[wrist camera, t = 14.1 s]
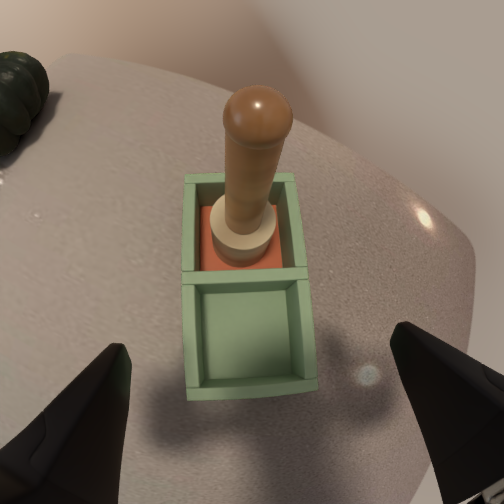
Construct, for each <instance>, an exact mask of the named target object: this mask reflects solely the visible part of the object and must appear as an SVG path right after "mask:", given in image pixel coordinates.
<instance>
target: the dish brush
mask: <svg viewBox="0 0 504 504" xmlns="http://www.w3.org/2000/svg"><path fill="white" fill-rule="evenodd" d="M292 123H293V114H292V109H291V107H290V104H289V102H288V101H287V99H286V98H285V97H284V96H283V95H282V94H281V93H280V92H278V91H277V90H275V89H273V88H271V87H268V86H263V85H252V86H248V87H245V88H242V89H240V90H239V91H237V92H236V93H234V94H233V95H232V96H231V97H230V99H229V100H228V101H227V103H226V105H225V108H224V111H223V124H224V128H225V195H223V196H222V197H220V198H219V199H218V200H217V201H216V203H215V204H214V205H213V207H212V210H211V213H210V227H211V235H212V242H213V248H214V251H215V253H216V255H217V256H218V258H219V259H220V260H221V261H223V262H224V263H226V264H227V265H230V266H232V267H238V268H243V267H248V266H251V265H253V264H255V263H257V262H258V261H259V260H260V259H261V258H262V257H263V255H264V254H265V251H266V249H267V247H268V244H269V242H270V240H271V237H272V235H273V232H274V230H275V226H276V215H275V211H274V209H273V207H272V205H271V204H270V203H269V201H268V197H269V193H270V190H271V186H272V183H273V179H274V176H275V172H276V169H277V165H278V162H279V158H280V155H281V151H282V148H283V144H284V141H285V138H286V137H287V136H288V134H289V132H290V130H291V127H292Z"/></svg>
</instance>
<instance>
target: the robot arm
mask: <svg viewBox="0 0 504 504" xmlns="http://www.w3.org/2000/svg"><path fill="white" fill-rule="evenodd" d="M390 347H391V350H392V353H393V356H394V360H395V363H396V366H397V369H398V372H399V375H400V378H401V381H402V384H403V386H404V389H405V391H406V393H407V396H408V398H409V401H410V403H411V406H412V408H413V411H414V413H415V416H416V419H417V421H418V424H419V427H420V429H421V432H422V435H423V438H424V441H425V444H426V447H427V449H428V452H429V456H430V459H431V462H432V464H433V468H434V472H435V475H436V479H437V482H438V485H439V489H440V493H441V497H442V501H443V504H458V503H460V502H463V501H465V500H466V499H468V498H470V497H472V496H474V495H476V494H478V493H479V494H478V495H477V496H476V497H475V498H473V499H472V500H471V501H469V502H468V503H467V504H504V375H502V374H499V373H498V372H496V371H494V370H493V369H491V368H489V367H487V366H485V365H484V364H481V363H480V362H479V361H477V360H475V359H473V358H472V357H470V356H468V355H466V354H465V353H463V352H461V351H460V350H458V349H456V348H454V347H452V346H451V345H449V344H447V343H445V342H444V341H442V340H440V339H438V338H437V337H435V336H433V335H431V334H430V333H428V332H426V331H424V330H422V329H421V328H419V327H417V326H415V325H414V324H412V323H410V322H408V321H405V322H400V323H398V324H397V325H396V327H395V329H394V331H393V334H392V336H391V339H390ZM131 371H132V363H131V360H130V357H129V355H128V352H127V350H126V347H125V345H124V344H122V343H111V344H110V345H109V346H108V347H107V348H106V349H105V350H103V351H102V352H101V353H100V354H99V355H98V356H97V357H96V358H95V359H94V360H93V361H92V362H91V363H90V364H89V365H88V366H87V367H86V368H85V369H84V370H83V371H82V372H81V373H80V374H79V375H78V376H77V377H76V378H75V379H74V380H73V381H72V382H71V383H70V384H69V385H68V386H67V387H66V388H65V389H64V390H63V391H62V392H61V393H60V394H59V395H58V396H57V397H56V398H55V399H54V400H53V401H52V402H51V403H50V404H49V405H48V406H47V407H46V408H45V409H44V410H43V411H44V412H43V411H42V412H41V413H40V414H39V415H38V416H37V417H36V418H35V419H34V420H33V421H32V422H31V423H30V424H29V425H28V426H27V427H26V428H25V429H24V430H22V431H21V432H20V433H19V434H18V435H17V436H16V437H15V438H13V439H12V440H11V441H10V442H9V443H7V444H6V445H5V446H4V447H3V448H1V449H0V504H118V495H119V482H120V471H121V461H122V453H123V445H124V438H125V431H126V424H127V418H128V411H129V400H130V384H131ZM480 492H481V493H480Z"/></svg>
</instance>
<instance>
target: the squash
mask: <svg viewBox="0 0 504 504" xmlns="http://www.w3.org/2000/svg"><path fill="white" fill-rule="evenodd" d="M48 94H49V80H48V77H47V73H46V71H45V69H44V67H43V66H42V65H41V63H40V62H39V61H38V60H36V59H35V58H33V57H31V56H29V55H28V54H26V53H23V52H15V51H9V52H3V53H0V156H4V155H7V154H9V153H10V152H12V151H13V150H14V149H15V147H16V146H17V144H18V142H19V139H20V135H22V134H24V133H26V132H27V131H28V130H29V128H30V124H31V121H30V120H31V119H33V118H34V117H35V116H36V115H37V114H38V113H39V112H40V110H41V109H42V108H43V106H44V104H45V102H46V100H47V98H48Z"/></svg>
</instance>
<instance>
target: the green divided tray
mask: <svg viewBox="0 0 504 504" xmlns="http://www.w3.org/2000/svg"><path fill="white" fill-rule="evenodd" d="M223 195H225V173H203V174H185V178H184V194H183V215H182V250H181V271H182V273H181V284H182V286H181V298H182V333H183V353H184V369H185V383H186V387H187V388H186V394H187V400H188V401H212V400H237V399H252V398H263V397H273V396H282V395H290V394H297V393H304V392H311V391H317V390H318V378H317V377H318V373H317V358H316V345H315V333H314V321H313V311H312V301H311V292H310V283H309V280H308V279H309V274H308V268H307V266H308V264H307V256H306V249H305V241H304V234H303V227H302V220H301V213H300V207H299V200H298V194H297V188H296V183H295V177H294V173H275V176H274V179H273V183H272V186H271V190H270V193H269V197H268V201H269V203H270V204H271V205H272V207H273V209H274V211H275V215H276V226H275V230H274V232H273V235H272V237H271V240H270V242H269V244H268V247H267V249H266V251H265V254H264V255H263V257H262V258H261V259H260V260H259V261H258V262H257V263H255V264H253V265H251V266H248V267H243V268H238V267H232V266H230V265H227V264H226V263H224V262H223V261H221V260H220V259H219V258H218V256H217V255H216V253H215V251H214V248H213V242H212V235H211V227H210V213H211V210H212V207H213V205H214V204H215V203H216V201H217V200H218V199H219V198H220V197H222V196H223Z"/></svg>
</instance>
